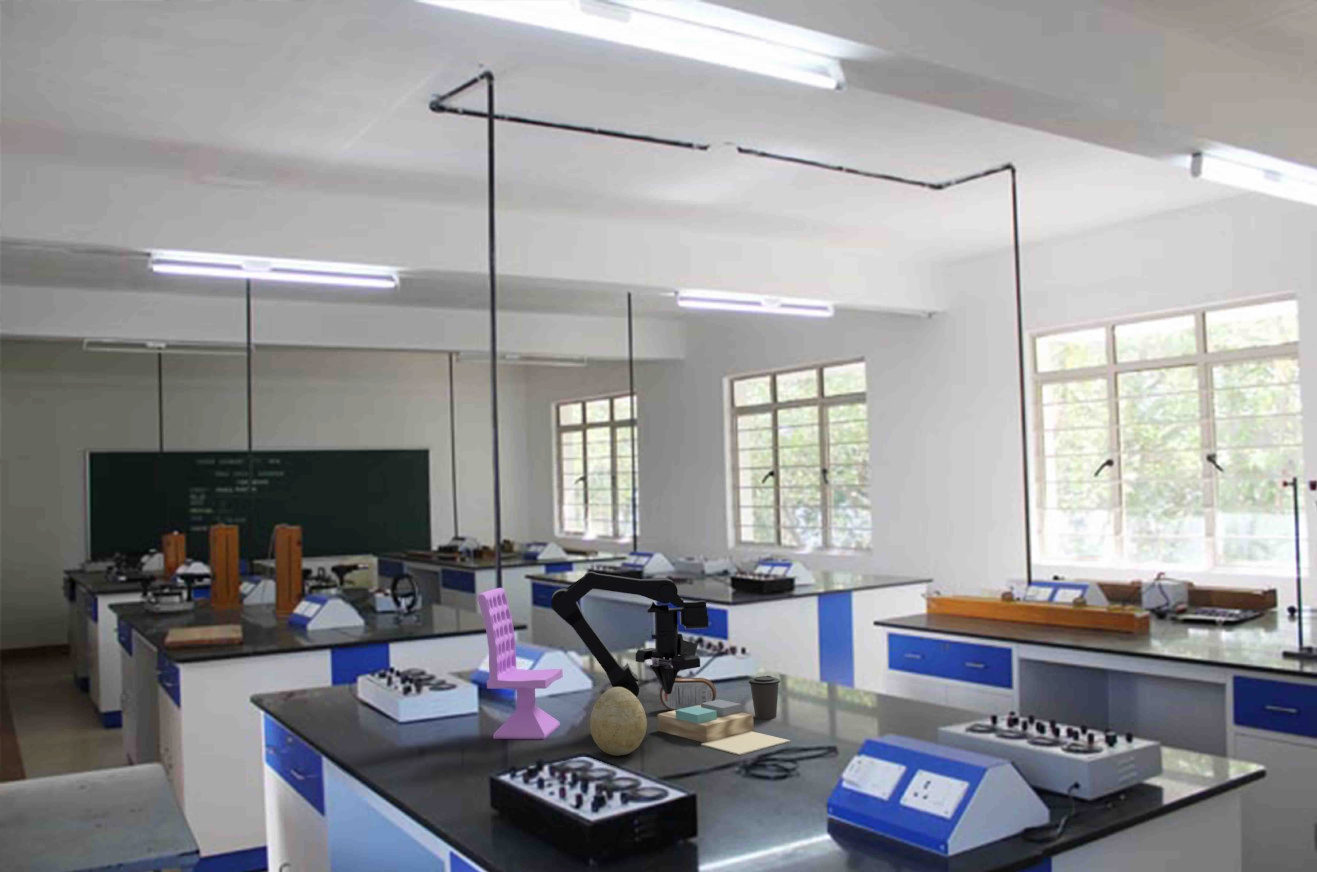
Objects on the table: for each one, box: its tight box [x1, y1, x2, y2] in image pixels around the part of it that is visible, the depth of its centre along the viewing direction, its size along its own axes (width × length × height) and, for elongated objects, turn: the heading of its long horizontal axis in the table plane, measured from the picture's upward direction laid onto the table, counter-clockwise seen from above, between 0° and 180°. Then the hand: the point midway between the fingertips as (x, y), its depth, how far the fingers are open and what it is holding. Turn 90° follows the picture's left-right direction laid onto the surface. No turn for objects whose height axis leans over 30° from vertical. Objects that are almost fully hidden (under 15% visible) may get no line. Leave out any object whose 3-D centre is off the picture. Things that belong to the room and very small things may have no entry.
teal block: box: [676, 706, 717, 724], centre depth 247 cm, size 6×8×2 cm
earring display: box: [476, 587, 563, 740], centre depth 257 cm, size 15×17×35 cm
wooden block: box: [657, 705, 755, 743], centre depth 251 cm, size 15×18×4 cm
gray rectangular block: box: [701, 699, 743, 717], centre depth 253 cm, size 6×8×2 cm
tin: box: [659, 677, 717, 711], centre depth 275 cm, size 15×3×8 cm, turn 84°
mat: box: [700, 731, 791, 756], centre depth 238 cm, size 16×13×1 cm
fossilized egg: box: [589, 687, 648, 757], centre depth 232 cm, size 13×13×15 cm
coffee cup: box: [748, 675, 781, 720], centre depth 264 cm, size 8×8×10 cm
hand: (668, 693), depth 254 cm, fingers closed
